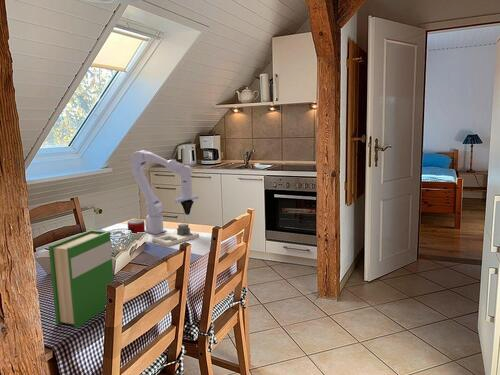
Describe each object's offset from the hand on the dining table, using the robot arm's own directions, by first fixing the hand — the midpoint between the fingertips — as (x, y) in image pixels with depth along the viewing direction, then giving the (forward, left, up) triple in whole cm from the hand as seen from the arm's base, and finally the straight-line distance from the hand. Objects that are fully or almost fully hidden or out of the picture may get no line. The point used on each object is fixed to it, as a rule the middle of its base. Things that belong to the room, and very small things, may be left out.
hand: (187, 214), depth 213 cm
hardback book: (+45, -80, -10) cm, 92 cm away
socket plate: (+4, -12, -10) cm, 16 cm away
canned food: (-6, -28, -10) cm, 30 cm away
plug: (+4, -7, -10) cm, 13 cm away
